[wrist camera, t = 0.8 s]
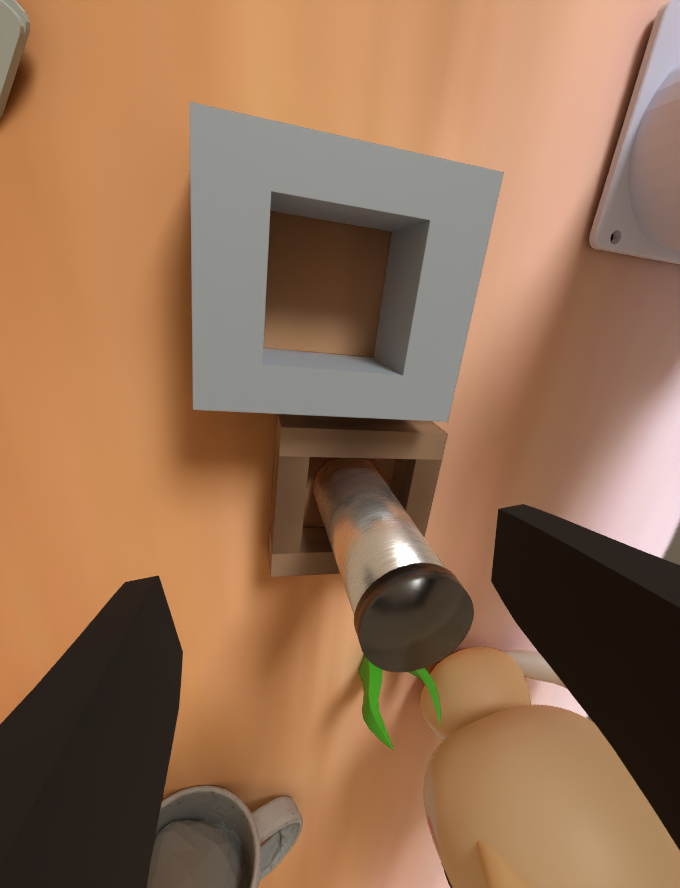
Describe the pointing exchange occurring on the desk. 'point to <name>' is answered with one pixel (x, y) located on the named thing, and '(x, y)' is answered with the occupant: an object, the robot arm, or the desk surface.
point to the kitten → (526, 783)
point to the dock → (344, 201)
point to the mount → (344, 438)
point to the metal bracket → (11, 45)
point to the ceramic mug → (220, 839)
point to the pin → (389, 571)
